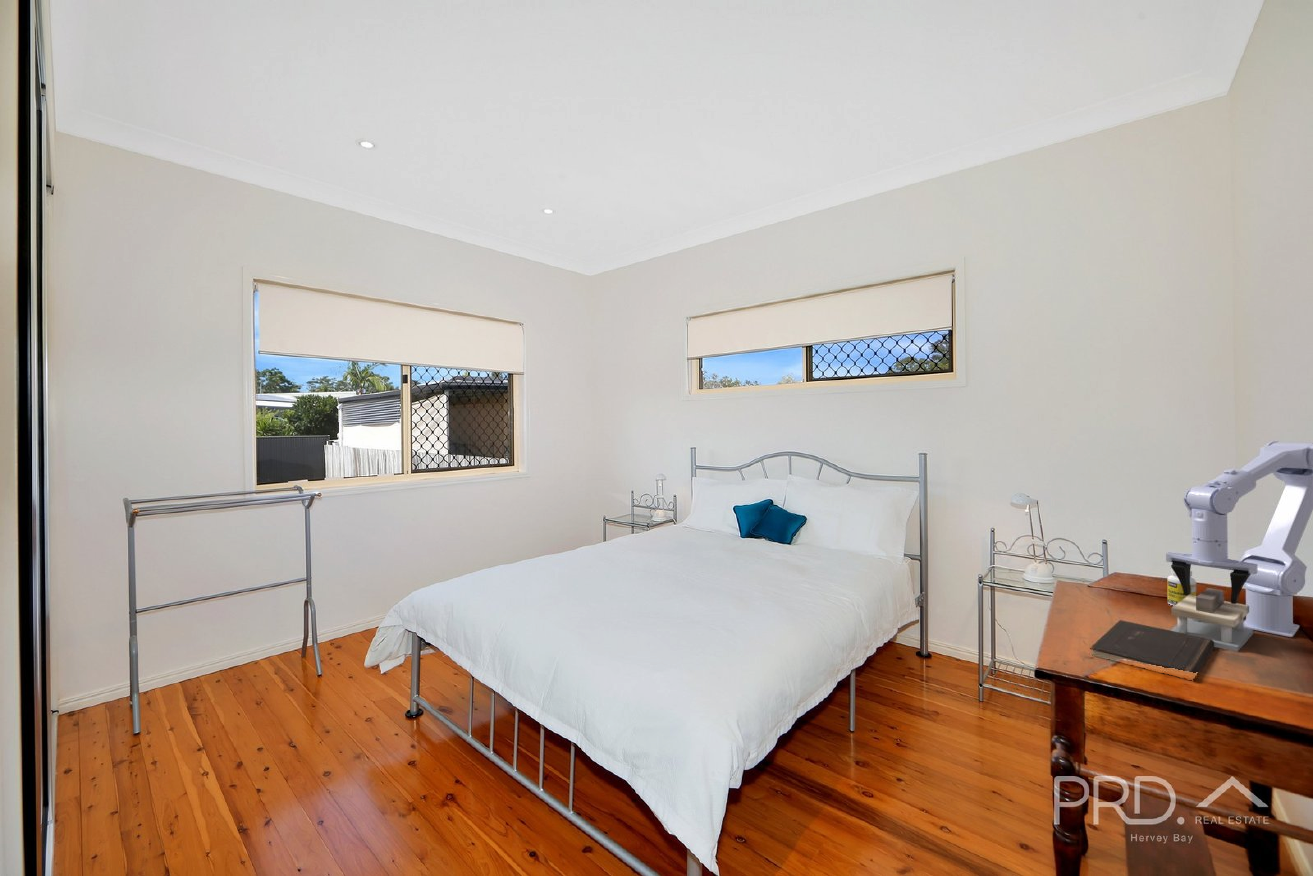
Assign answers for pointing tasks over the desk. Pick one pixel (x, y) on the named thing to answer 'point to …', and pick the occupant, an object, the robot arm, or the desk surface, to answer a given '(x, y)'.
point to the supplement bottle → (1178, 588)
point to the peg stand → (1215, 632)
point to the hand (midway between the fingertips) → (1210, 598)
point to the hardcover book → (1153, 646)
